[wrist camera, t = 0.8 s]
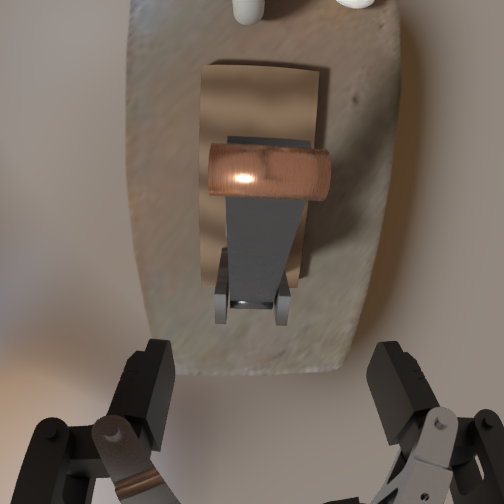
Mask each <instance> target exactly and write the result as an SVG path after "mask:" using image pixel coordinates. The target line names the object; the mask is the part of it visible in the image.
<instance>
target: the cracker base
mask: <svg viewBox="0 0 504 504" xmlns="http://www.w3.org/2000/svg"><path fill="white" fill-rule="evenodd" d="M318 86H319V72H318V71H310V70H302V69H292V68H281V67H268V66H250V65H202V72H201V96H200V132H199V223H200V261H201V285H216V288H215V294H214V295H215V324H226V318H227V306H228V295H229V269H228V249H227V226H226V201H225V196H210V195H209V190H208V161H209V152H210V146H211V143H227V136H246V137H267V138H282V139H295V140H306V141H310V142H311V148H313V149H314V140H315V128H316V116H317V102H318ZM308 201H309V200H306V202H305V205H304V209H303V212H302V215H301V218H300V222H299V225H298V228H297V231H296V234H295V238H294V241H293V244H292V247H291V250H290V253H289V256H288V259H287V263H286V266H285V269H284V272H283V275H282V278H281V281H280V284H279V287H278V290H277V293H276V296H275V299H274V302H273V304H274V313H275V321H276V325H284V326H287V319H288V313H289V306H290V298H291V295H290V291H289V288H297V287H298V280H299V273H300V265H301V258H302V251H303V243H304V235H305V227H306V219H307V210H308Z"/></svg>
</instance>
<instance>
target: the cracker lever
mask: <svg viewBox="0 0 504 504" xmlns="http://www.w3.org/2000/svg"><path fill="white" fill-rule="evenodd" d="M330 181H331V160H330V155H329V152H328V151H327V150H323V149H313V148H311V142H310V141H306V140H295V139H282V138H267V137H246V136H227V143H211V146H210V152H209V161H208V190H209V195H210V196H225V201H226V226H227V249H228V269H229V288H230V308H238V309H272V308H273V302H274V299H275V296H276V293H277V290H278V287H279V284H280V281H281V278H282V275H283V272H284V269H285V266H286V263H287V259H288V256H289V253H290V250H291V247H292V244H293V241H294V238H295V234H296V231H297V228H298V225H299V222H300V218H301V215H302V212H303V209H304V205H305V202H306V200H312V201H324V200H325V199H326V198H327V195H328V192H329V188H330Z"/></svg>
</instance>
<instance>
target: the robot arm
mask: <svg viewBox="0 0 504 504" xmlns="http://www.w3.org/2000/svg"><path fill="white" fill-rule="evenodd" d="M174 382H175V365H174V360H173V354H172V348H171V343H170V341H169V340H160V339H150V340H149V341H148V344H147V347H146V350H145V352H144V351H136V352H135V353H134V354H133V355H132V356H131V357H130V358H129V359H128V360H127V363H126V365H125V368H124V372H123V373H122V375H121V378H120V381H119V383H118V386H117V388H116V391H115V394H114V396H113V399H112V402H111V405H110V407H109V410H108V413H107V415H106V416H103V417H102V418H100V419H98V420H97V421H96V422H95V423H94V424H93V425H88V426H73V427H72V426H71V427H68V426H67V425H66V423H65V422H64V421H62V420H61V419H58V418H53V417H51V418H46V419H44V420H42V421H41V422H40V423H38V425H37V426H36V428H35V430H34V433H33V435H32V438H31V441H30V444H29V446H28V449H27V452H26V455H25V458H24V460H23V464H22V466H21V470H20V473H19V476H18V479H17V482H16V486H15V489H14V493H13V496H12V500H11V504H91V502H92V496H93V491H94V486H95V481H96V478H108V477H110V478H111V480H112V482H113V484H114V486H115V492H116V494H117V497H118V499H119V501H120V503H121V504H181V503H180V502H179V501H178V499H177V498H176V497H175V496H174V494H173V492H172V491H171V489H170V488H169V486H168V485H167V484H166V482H165V481H164V479H163V478H162V476H161V475H160V473H159V472H158V471H157V470H156V468H155V466H154V465H153V463H152V461H151V460H150V456H151V451H159V452H160V450H161V445H162V440H163V435H164V430H165V424H166V420H167V414H168V410H169V405H170V401H171V396H172V391H173V386H174ZM367 382H368V385H369V388H370V391H371V394H372V396H373V399H374V402H375V405H376V408H377V411H378V414H379V417H380V419H381V422H382V425H383V428H384V431H385V434H386V437H387V441H388V443H389V445H395V444H399V445H400V447H401V449H400V450H399V451H398V453H397V456H396V458H395V460H394V462H393V465H392V467H391V469H390V471H389V474H388V476H387V478H386V480H385V482H384V484H383V486H382V488H381V489H380V491H379V492H378V493H377V495H376V496H375V497H374V499H373V500H372V502H371V503H370V504H444V502H445V499H446V496H447V493H448V490H449V488H450V491H451V495H452V498H453V502H454V504H504V427H503V424H502V422H501V420H500V418H499V416H498V415H497V414H496V413H495V412H493V411H491V410H488V409H483V410H480V411H479V412H478V413H477V414H476V415H475V416H474V418H460V417H456V415H455V414H454V413H453V412H452V411H451V410H449V409H447V408H444V407H440V405H439V403H438V401H437V399H436V397H435V395H434V393H433V391H432V389H431V387H430V386H429V384H428V382H427V380H426V379H425V376H424V374H423V372H422V371H421V368H420V366H419V365H418V363H417V361H416V360H415V359H414V358H413V357H412V356H411V355H410V354H409V353H408V352H403V350H402V349H401V347H400V345H399V343H398V342H397V341H386V342H379V343H378V344H377V345H376V348H375V350H374V353H373V356H372V358H371V360H370V363H369V365H368V368H367ZM476 455H478V457H479V460H480V463H481V466H482V469H483V472H484V479H483V480H482V477H481V474H480V471H479V468H478V465H477V463H476V460H475V456H476ZM324 504H364V503H359V498H358V497H355V498H349V499H343V500H338V501H331V502H327V503H324Z"/></svg>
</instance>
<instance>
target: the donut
mask: <svg viewBox="0 0 504 504" xmlns="http://www.w3.org/2000/svg"><path fill="white" fill-rule="evenodd" d="M264 5H265V0H233V13H234V17H235V19H236V20H237V21H238V22H239V23H241V24H243V25H254V24H256V23H258V22H259V21H260V20H261V18H262V16H263V14H264Z"/></svg>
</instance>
